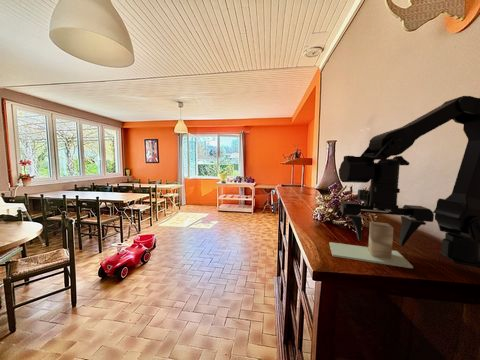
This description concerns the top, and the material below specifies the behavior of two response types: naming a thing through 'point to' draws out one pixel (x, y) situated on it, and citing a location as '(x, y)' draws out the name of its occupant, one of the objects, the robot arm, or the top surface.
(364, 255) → the sage mat
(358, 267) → the top surface
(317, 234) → the top surface
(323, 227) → the top surface
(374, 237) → the maple block
